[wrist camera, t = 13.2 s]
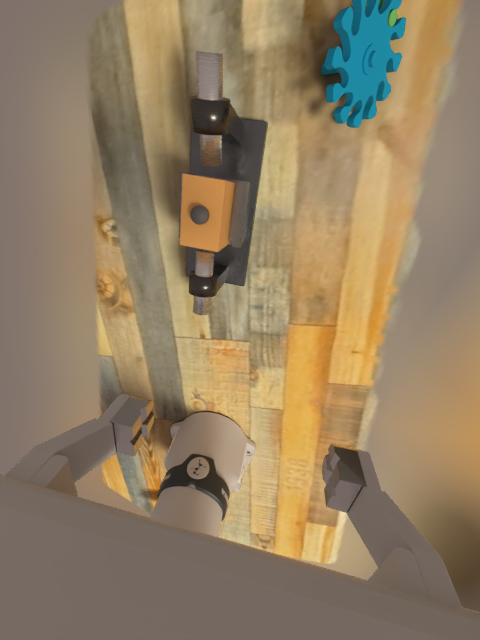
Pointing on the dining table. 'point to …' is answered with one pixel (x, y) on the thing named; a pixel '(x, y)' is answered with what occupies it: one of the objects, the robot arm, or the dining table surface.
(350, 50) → the gear
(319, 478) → the dining table surface
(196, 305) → the shaft stand
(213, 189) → the block
